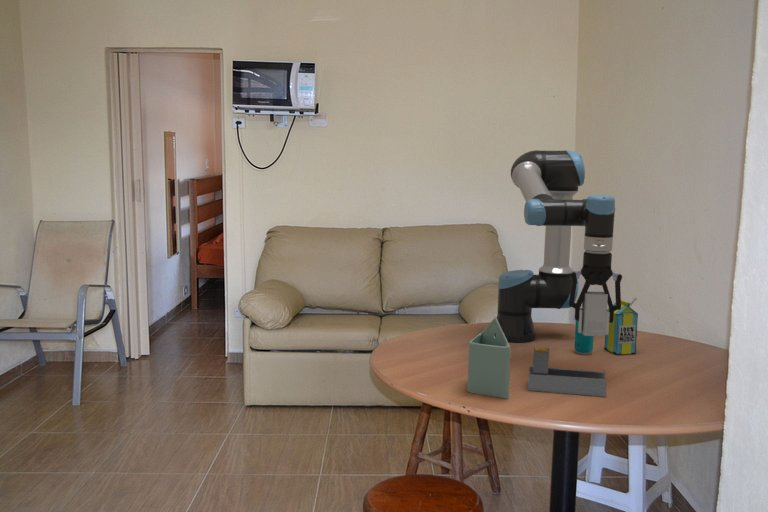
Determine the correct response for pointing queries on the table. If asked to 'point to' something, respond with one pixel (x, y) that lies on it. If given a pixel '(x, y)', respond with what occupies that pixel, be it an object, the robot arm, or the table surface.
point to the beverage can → (583, 342)
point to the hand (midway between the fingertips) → (593, 332)
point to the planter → (489, 362)
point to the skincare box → (594, 314)
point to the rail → (563, 378)
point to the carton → (622, 331)
